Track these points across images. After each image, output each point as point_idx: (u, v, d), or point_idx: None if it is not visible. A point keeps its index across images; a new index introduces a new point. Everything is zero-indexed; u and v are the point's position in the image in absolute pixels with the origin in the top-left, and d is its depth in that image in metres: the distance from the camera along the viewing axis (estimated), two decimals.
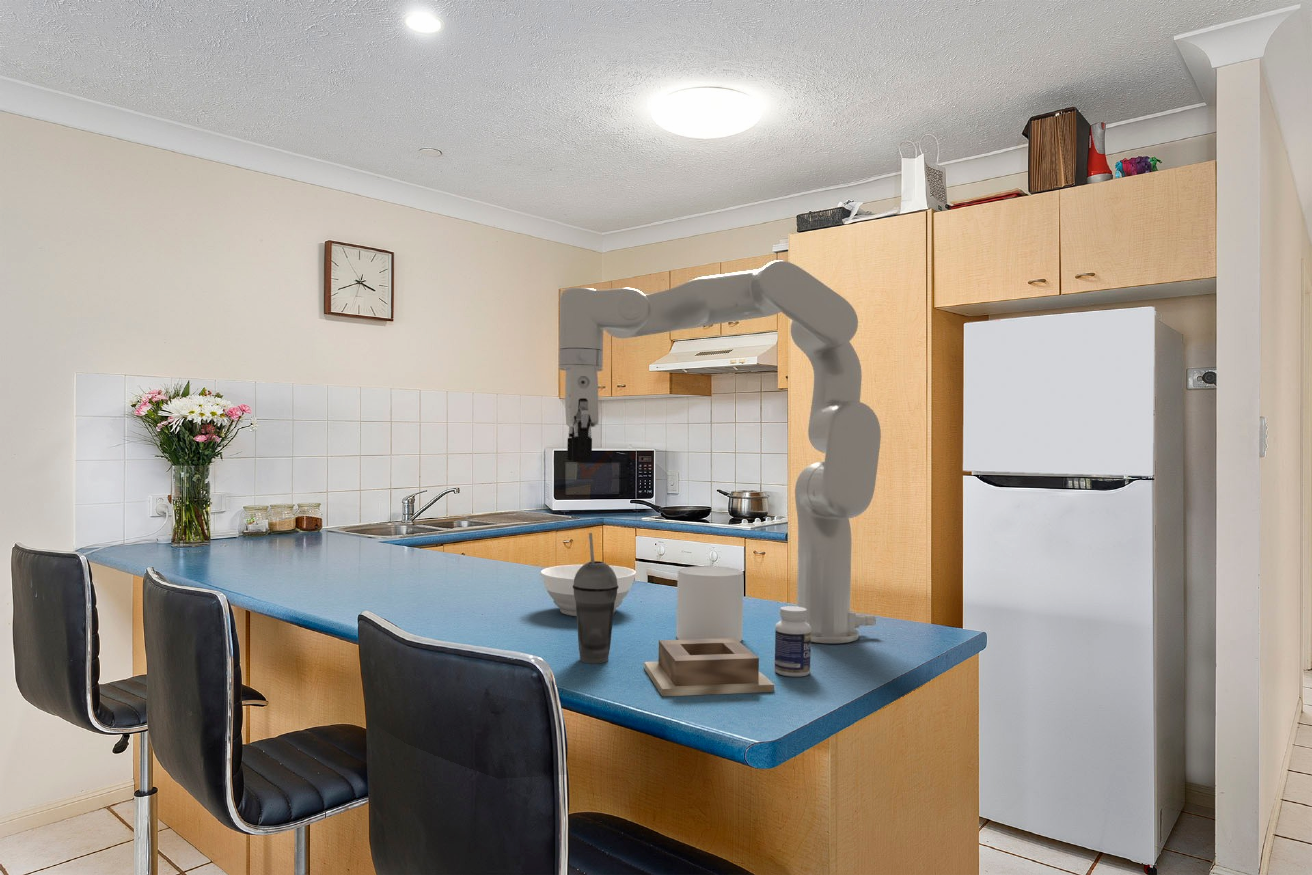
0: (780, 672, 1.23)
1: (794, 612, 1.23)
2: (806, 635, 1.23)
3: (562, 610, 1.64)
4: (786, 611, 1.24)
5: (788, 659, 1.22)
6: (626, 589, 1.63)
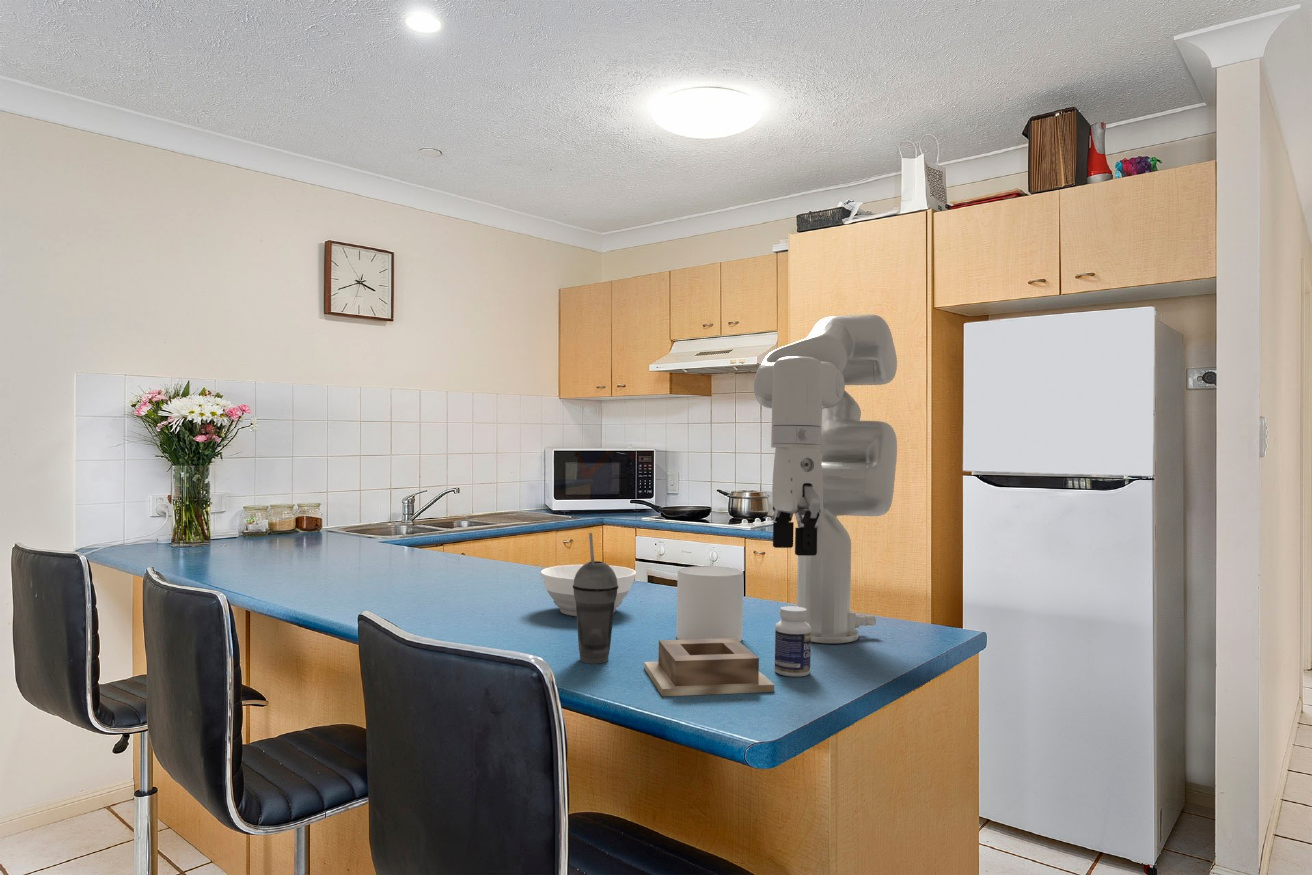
0: (780, 672, 1.23)
1: (794, 612, 1.23)
2: (806, 635, 1.23)
3: (562, 610, 1.64)
4: (786, 611, 1.24)
5: (788, 659, 1.22)
6: (626, 589, 1.63)
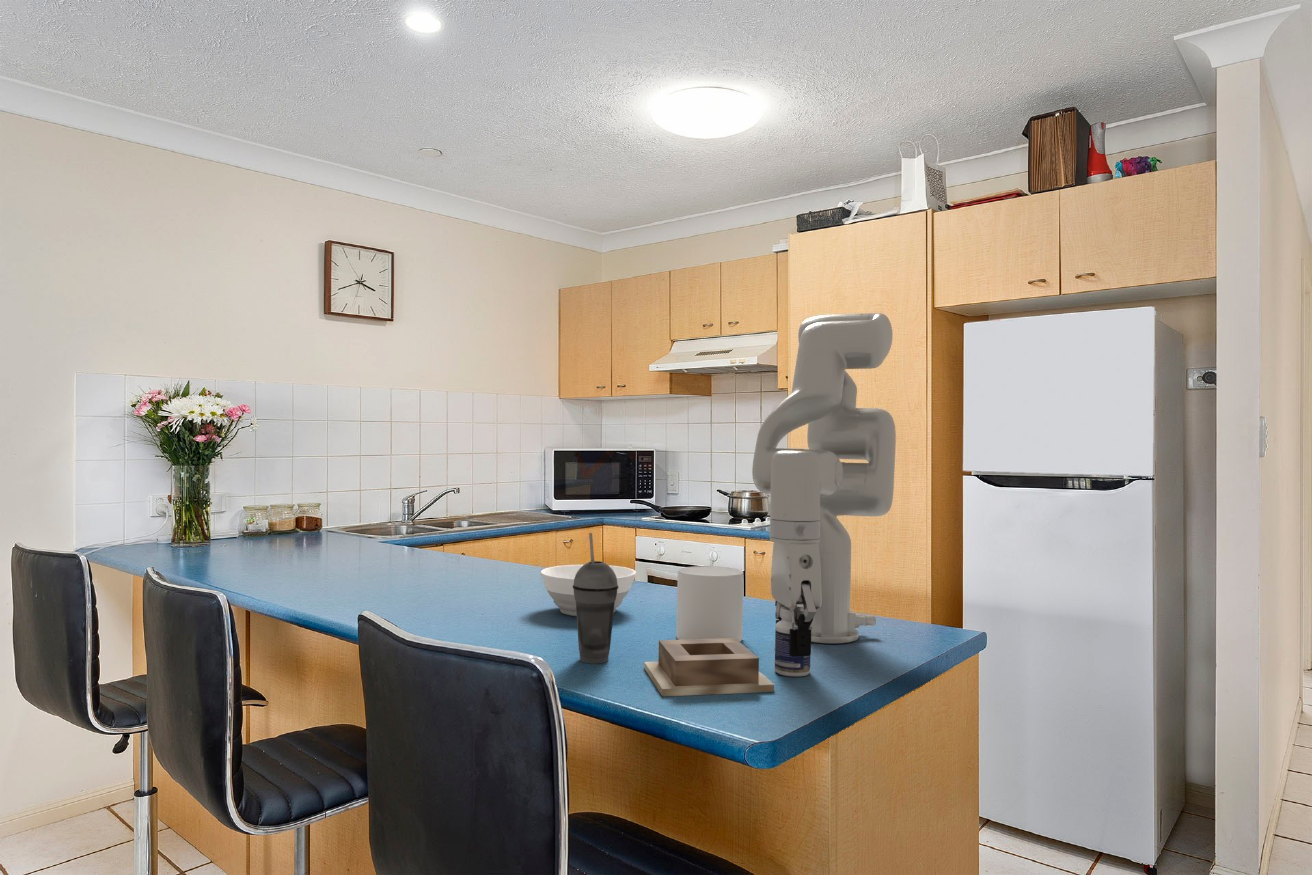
0: (780, 672, 1.23)
1: None
2: None
3: (562, 610, 1.64)
4: (786, 611, 1.23)
5: (788, 659, 1.22)
6: (626, 589, 1.63)
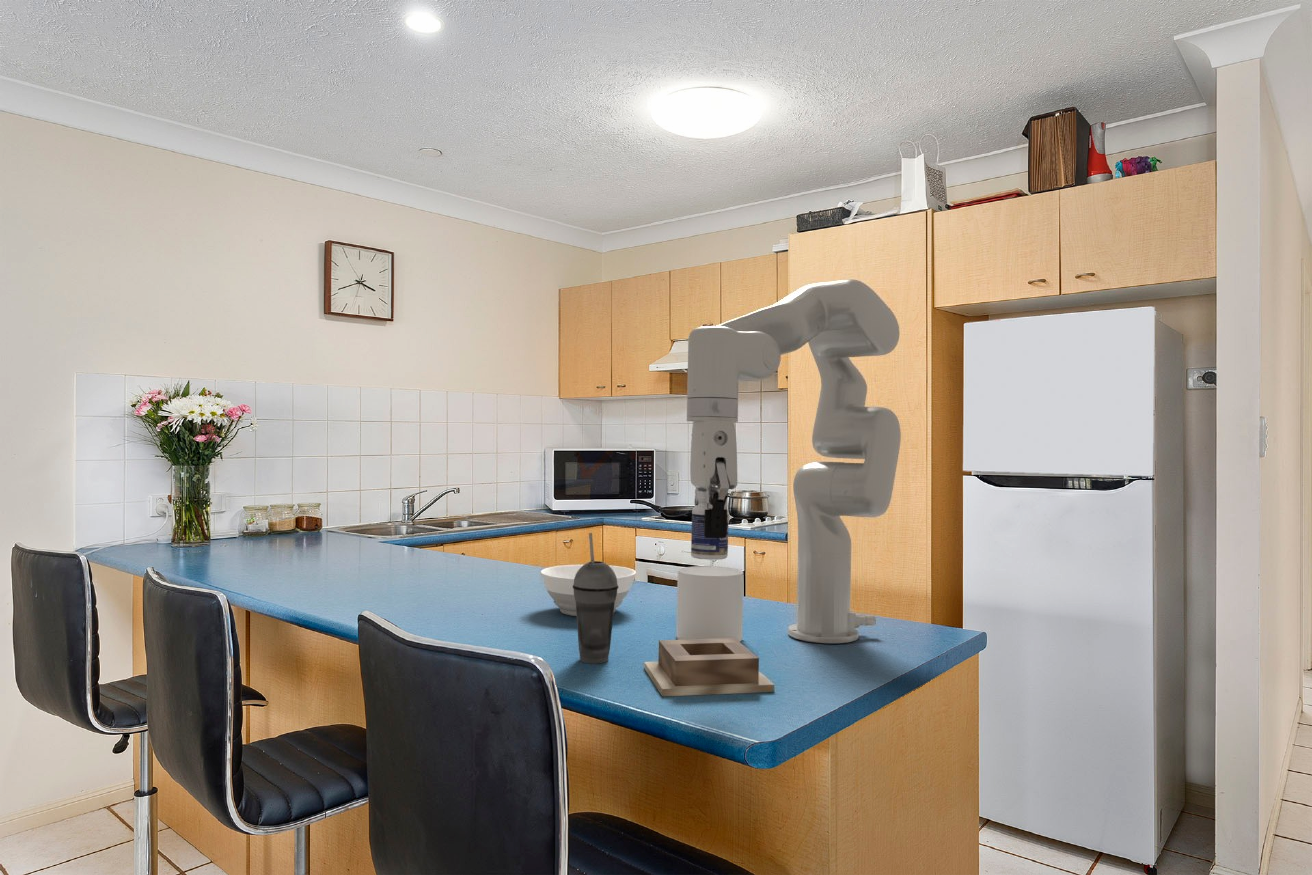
0: (696, 555, 1.19)
1: None
2: None
3: (562, 610, 1.64)
4: (702, 492, 1.19)
5: (703, 541, 1.18)
6: (626, 589, 1.63)
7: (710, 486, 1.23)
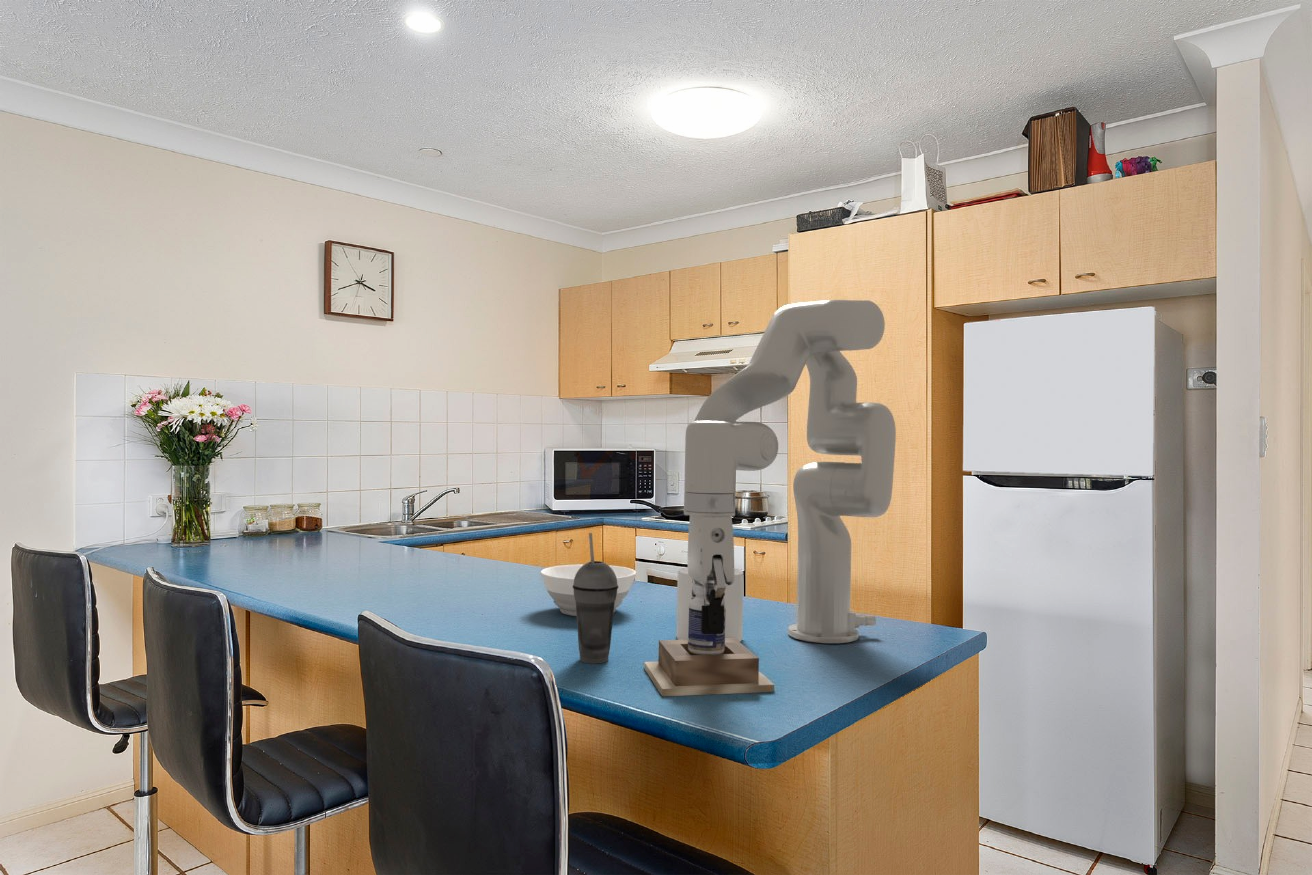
0: (692, 650, 1.18)
1: None
2: None
3: (562, 610, 1.64)
4: (699, 587, 1.19)
5: (700, 637, 1.18)
6: (626, 589, 1.63)
7: None
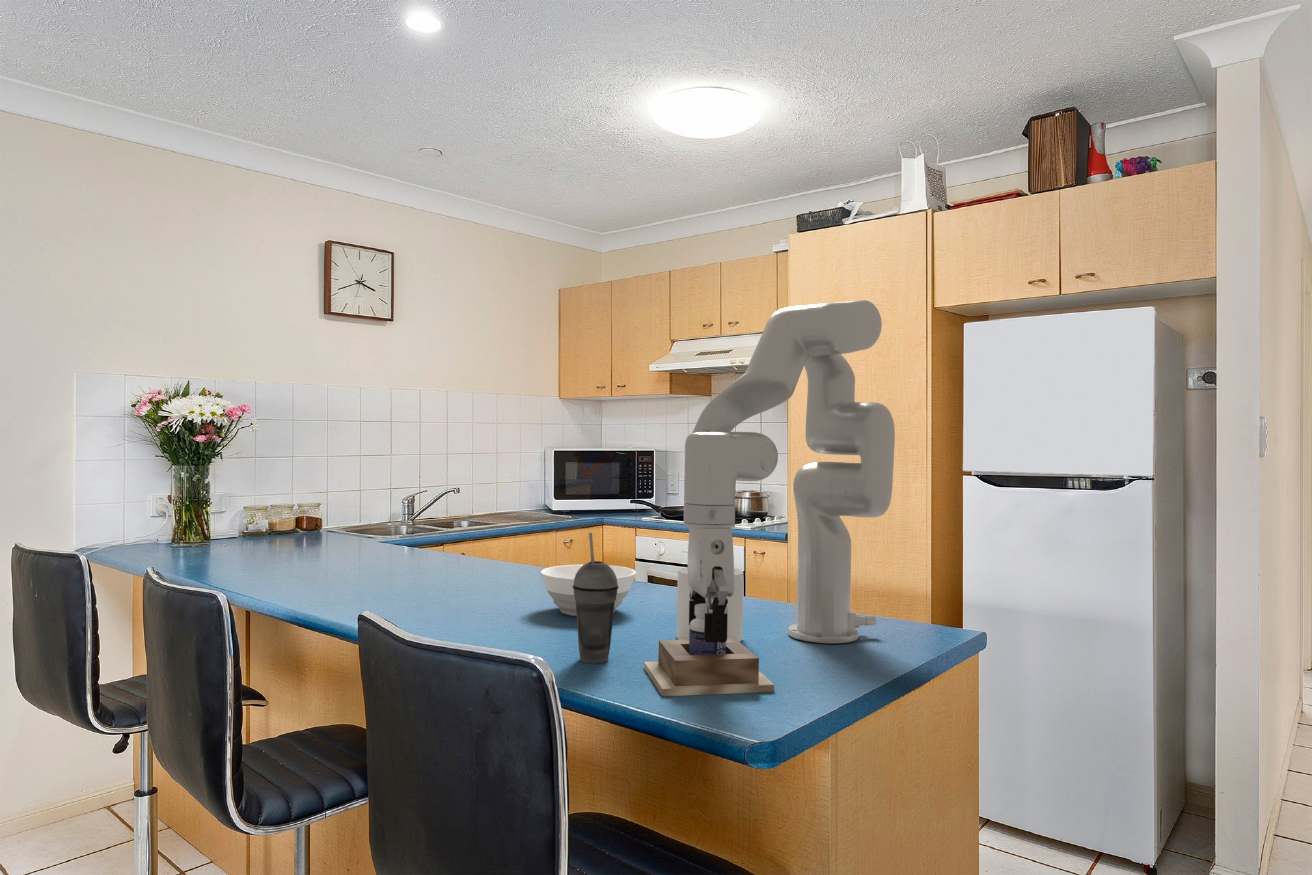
0: None
1: None
2: None
3: (562, 610, 1.64)
4: (699, 608, 1.19)
5: None
6: (626, 589, 1.63)
7: None
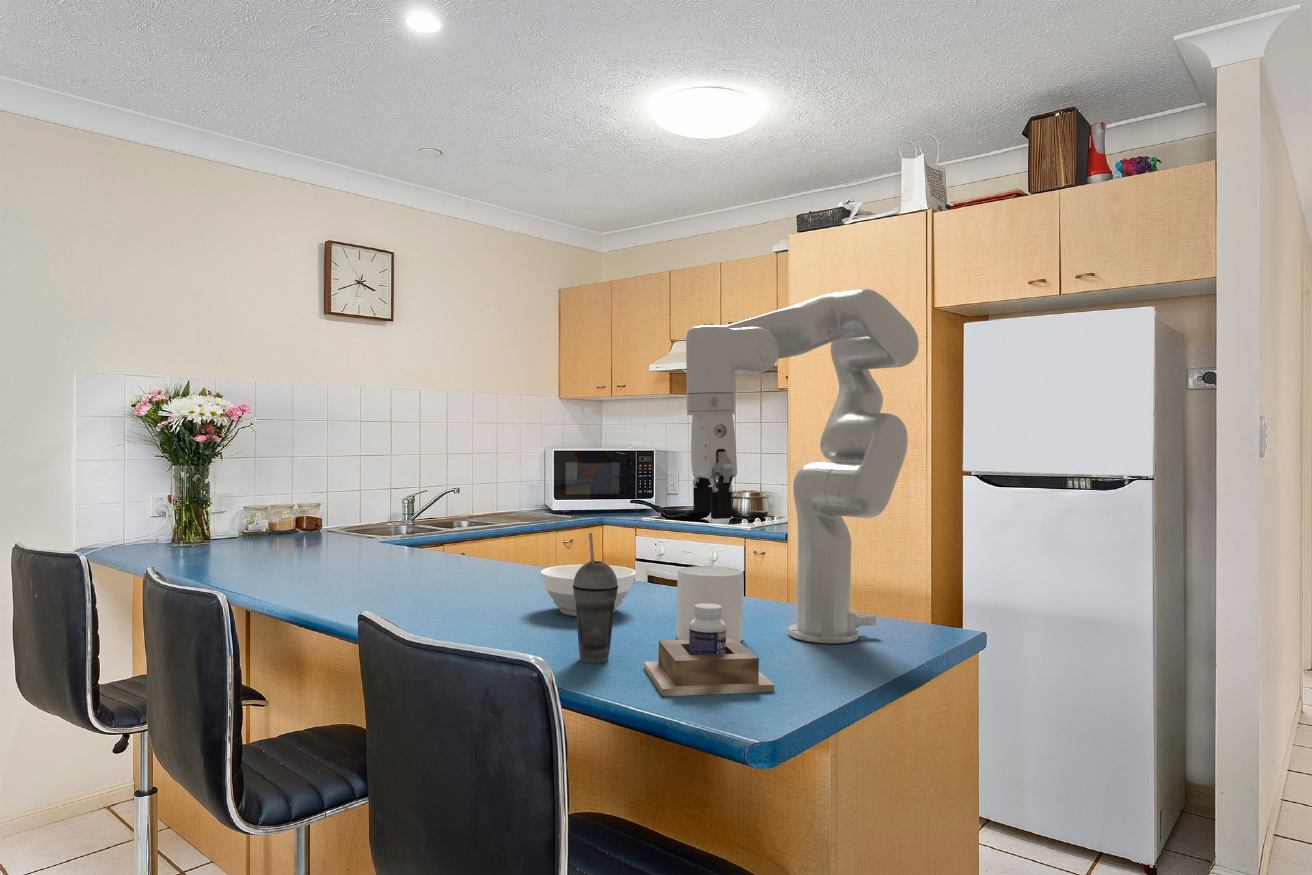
0: None
1: (707, 609, 1.19)
2: (720, 633, 1.18)
3: (562, 610, 1.64)
4: (699, 608, 1.19)
5: None
6: (626, 589, 1.63)
7: None
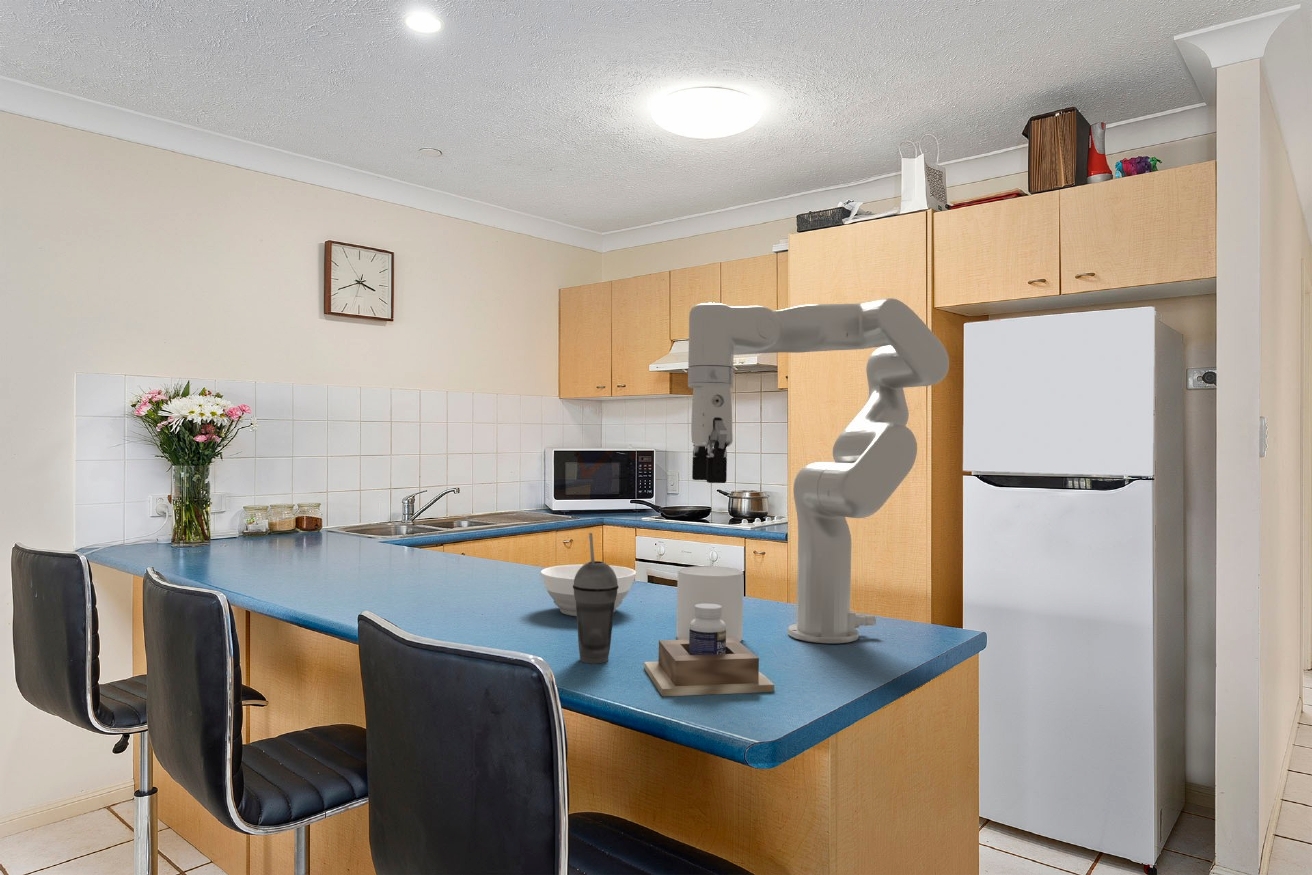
0: None
1: (707, 609, 1.19)
2: (720, 633, 1.18)
3: (562, 610, 1.64)
4: (699, 608, 1.19)
5: None
6: (626, 589, 1.63)
7: None
